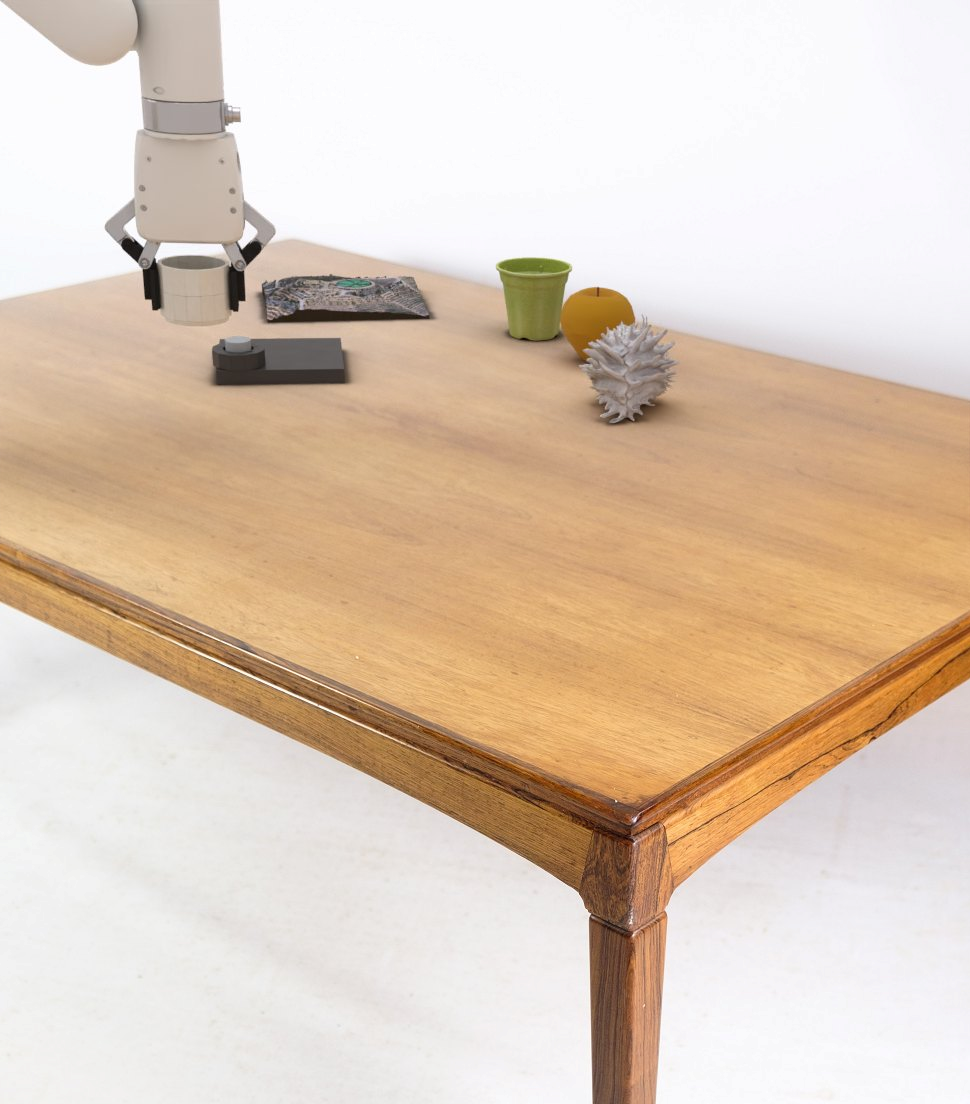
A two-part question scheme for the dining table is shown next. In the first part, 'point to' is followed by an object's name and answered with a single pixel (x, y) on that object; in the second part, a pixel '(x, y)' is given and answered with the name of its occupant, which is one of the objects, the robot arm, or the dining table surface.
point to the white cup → (194, 290)
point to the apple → (593, 316)
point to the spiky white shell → (629, 369)
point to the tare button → (238, 344)
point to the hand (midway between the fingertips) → (196, 306)
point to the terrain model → (342, 299)
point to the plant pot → (534, 295)
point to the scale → (281, 362)
